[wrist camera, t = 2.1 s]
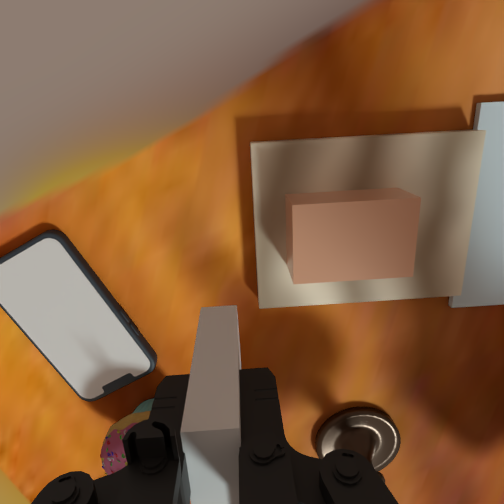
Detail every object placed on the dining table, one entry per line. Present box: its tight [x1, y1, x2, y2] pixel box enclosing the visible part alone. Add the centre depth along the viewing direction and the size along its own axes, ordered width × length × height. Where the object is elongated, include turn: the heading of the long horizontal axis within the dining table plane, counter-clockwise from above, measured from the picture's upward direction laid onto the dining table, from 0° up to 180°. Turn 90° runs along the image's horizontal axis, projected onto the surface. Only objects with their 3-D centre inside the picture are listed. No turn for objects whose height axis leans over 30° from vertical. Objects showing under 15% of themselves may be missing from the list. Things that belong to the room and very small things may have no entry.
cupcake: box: [100, 398, 154, 475], centre depth 33 cm, size 9×8×12 cm
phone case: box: [0, 230, 157, 401], centre depth 34 cm, size 9×2×16 cm
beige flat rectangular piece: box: [250, 130, 486, 309], centre depth 32 cm, size 18×14×2 cm
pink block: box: [285, 188, 421, 284], centre depth 29 cm, size 9×6×4 cm, turn 93°
